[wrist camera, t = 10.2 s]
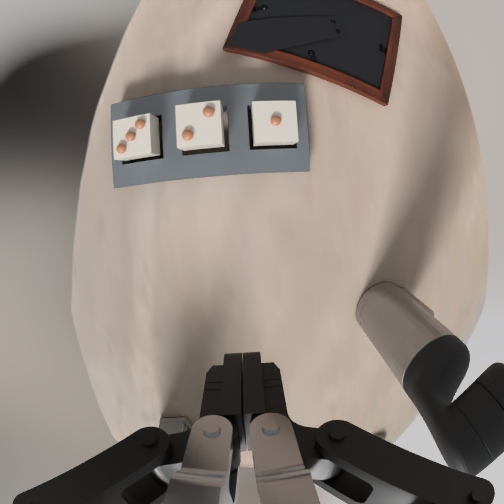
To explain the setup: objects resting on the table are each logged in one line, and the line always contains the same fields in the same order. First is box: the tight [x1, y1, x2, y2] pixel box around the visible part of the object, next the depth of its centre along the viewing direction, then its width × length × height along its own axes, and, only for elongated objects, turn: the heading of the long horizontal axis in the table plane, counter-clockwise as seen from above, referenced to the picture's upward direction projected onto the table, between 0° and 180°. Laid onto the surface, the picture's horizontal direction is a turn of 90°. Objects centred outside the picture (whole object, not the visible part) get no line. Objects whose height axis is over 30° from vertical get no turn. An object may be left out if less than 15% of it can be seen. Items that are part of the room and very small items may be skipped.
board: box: [111, 83, 310, 188], centre depth 34 cm, size 26×12×3 cm, turn 93°
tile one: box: [251, 101, 299, 146], centre depth 31 cm, size 5×5×5 cm
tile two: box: [175, 100, 225, 151], centre depth 30 cm, size 5×5×5 cm
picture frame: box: [223, 0, 402, 106], centre depth 30 cm, size 20×2×25 cm
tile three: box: [113, 113, 160, 161], centre depth 31 cm, size 5×5×5 cm
